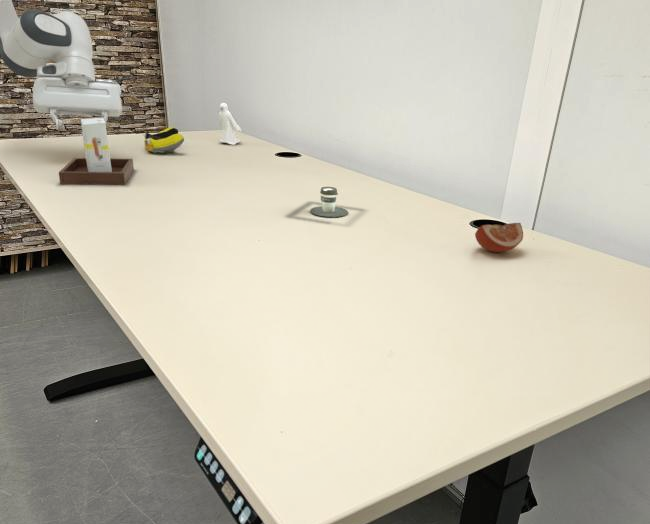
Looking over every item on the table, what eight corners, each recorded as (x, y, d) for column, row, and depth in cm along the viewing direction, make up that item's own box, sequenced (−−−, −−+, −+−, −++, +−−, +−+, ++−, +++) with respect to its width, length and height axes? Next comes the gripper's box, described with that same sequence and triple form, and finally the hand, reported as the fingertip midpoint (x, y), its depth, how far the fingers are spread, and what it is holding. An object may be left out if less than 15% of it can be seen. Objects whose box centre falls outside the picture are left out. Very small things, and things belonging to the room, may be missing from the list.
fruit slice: (504, 243, 107) (509, 216, 105) (529, 255, 101) (535, 227, 99) (465, 247, 104) (470, 219, 102) (489, 260, 98) (494, 231, 96)
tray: (60, 184, 129) (58, 172, 128) (75, 168, 143) (73, 157, 142) (125, 184, 131) (123, 173, 130) (133, 169, 145) (132, 158, 144)
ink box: (86, 170, 139) (79, 117, 134) (108, 169, 141) (102, 117, 136) (89, 178, 133) (82, 123, 127) (112, 177, 134) (106, 123, 129)
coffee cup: (364, 209, 123) (366, 185, 121) (346, 224, 113) (348, 198, 110) (310, 201, 126) (311, 178, 124) (288, 215, 116) (289, 190, 114)
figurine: (212, 142, 182) (211, 101, 177) (231, 140, 188) (230, 100, 183) (230, 146, 179) (229, 104, 173) (248, 143, 184) (248, 102, 179)
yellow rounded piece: (178, 145, 176) (143, 145, 173) (177, 126, 173) (141, 126, 170) (185, 155, 163) (148, 156, 160) (184, 134, 161) (146, 134, 158)
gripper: (119, 88, 153) (124, 137, 151) (32, 82, 146) (36, 133, 143) (120, 73, 148) (125, 124, 145) (29, 66, 140) (33, 120, 138)
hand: (80, 129), depth 144 cm, fingers open, 8 cm apart
